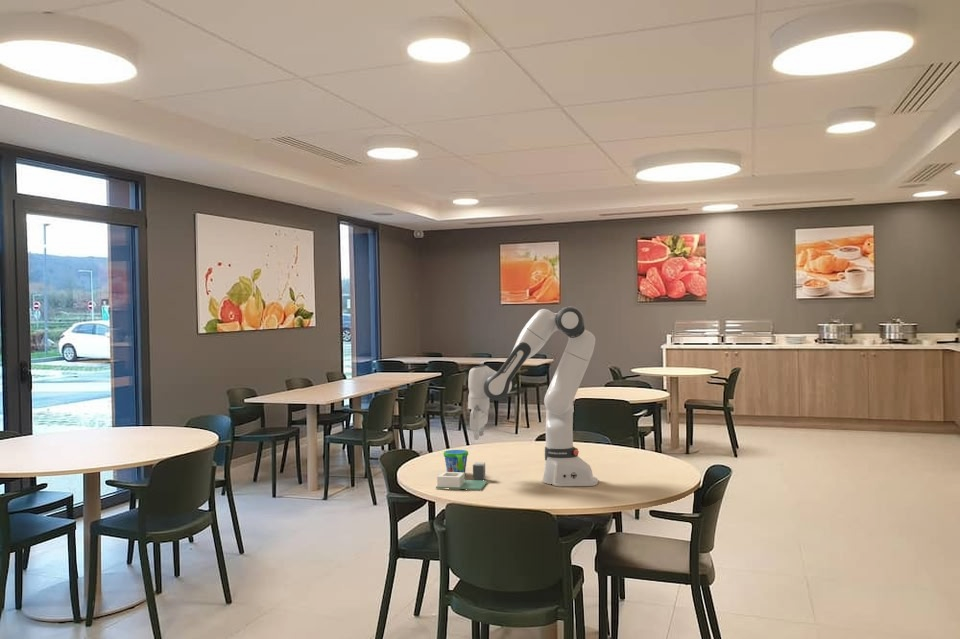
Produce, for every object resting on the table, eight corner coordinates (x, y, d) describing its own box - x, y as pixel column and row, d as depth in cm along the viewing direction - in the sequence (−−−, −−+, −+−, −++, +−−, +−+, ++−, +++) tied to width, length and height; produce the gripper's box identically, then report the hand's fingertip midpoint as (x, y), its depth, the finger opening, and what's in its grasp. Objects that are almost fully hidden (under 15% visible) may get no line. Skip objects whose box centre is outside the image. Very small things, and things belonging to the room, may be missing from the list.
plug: (485, 479, 284) (485, 462, 284) (483, 481, 280) (483, 464, 280) (474, 479, 285) (474, 462, 285) (472, 481, 281) (472, 464, 281)
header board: (487, 482, 278) (487, 470, 278) (480, 490, 264) (480, 478, 264) (444, 481, 282) (444, 469, 282) (435, 489, 268) (435, 476, 268)
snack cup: (441, 472, 300) (441, 448, 300) (465, 470, 302) (464, 447, 302) (446, 479, 284) (446, 455, 284) (471, 478, 286) (471, 454, 286)
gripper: (481, 407, 272) (481, 442, 272) (490, 401, 292) (490, 434, 292) (466, 407, 274) (466, 441, 273) (476, 401, 294) (476, 433, 293)
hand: (478, 437), depth 283 cm, fingers open, 8 cm apart
